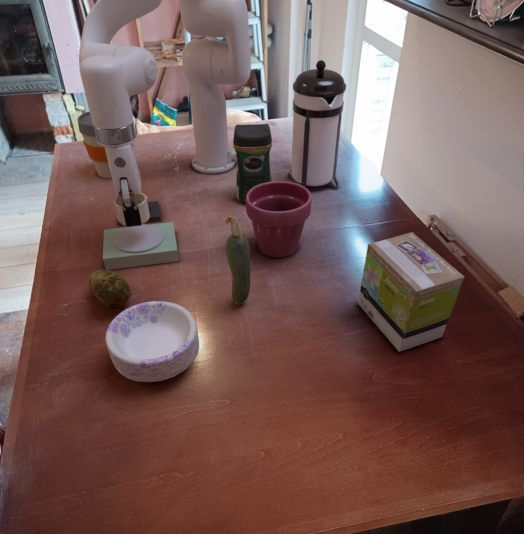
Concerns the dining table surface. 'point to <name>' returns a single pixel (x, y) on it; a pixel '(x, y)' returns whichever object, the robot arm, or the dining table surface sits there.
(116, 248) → the scale
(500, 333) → the dining table surface
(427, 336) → the tea box
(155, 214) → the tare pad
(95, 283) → the potato
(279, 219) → the flower pot
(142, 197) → the bowl
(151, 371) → the paper bowls
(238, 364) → the dining table surface
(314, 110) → the coffee press
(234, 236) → the vegetable
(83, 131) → the reusable coffee cup
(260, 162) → the coffee jar
